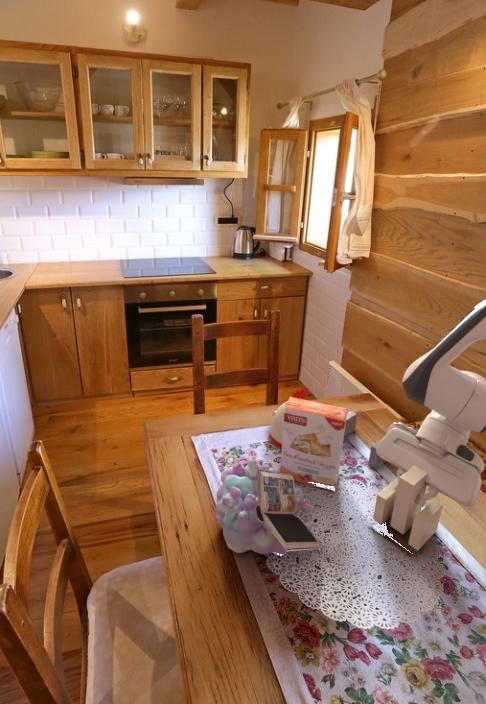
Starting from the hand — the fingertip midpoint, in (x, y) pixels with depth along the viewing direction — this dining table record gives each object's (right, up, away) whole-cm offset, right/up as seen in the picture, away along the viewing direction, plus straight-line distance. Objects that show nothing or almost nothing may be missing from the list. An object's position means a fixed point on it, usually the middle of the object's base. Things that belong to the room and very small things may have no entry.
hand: (408, 498), depth 84 cm
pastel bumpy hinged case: (-30, -9, +3) cm, 31 cm away
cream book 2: (+3, -8, 0) cm, 9 cm away
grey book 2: (+5, 0, +25) cm, 26 cm away
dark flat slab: (+1, -8, +3) cm, 9 cm away
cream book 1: (-2, -6, +6) cm, 9 cm away
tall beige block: (0, -7, +3) cm, 7 cm away
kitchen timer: (-18, +3, +34) cm, 39 cm away
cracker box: (-17, -3, +18) cm, 25 cm away
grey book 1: (-3, +3, +35) cm, 35 cm away
